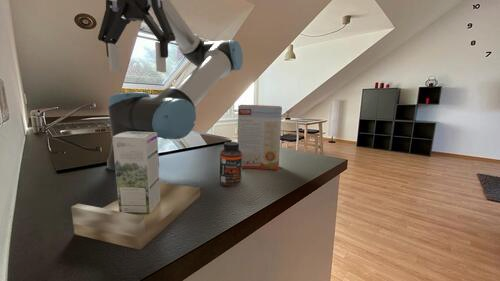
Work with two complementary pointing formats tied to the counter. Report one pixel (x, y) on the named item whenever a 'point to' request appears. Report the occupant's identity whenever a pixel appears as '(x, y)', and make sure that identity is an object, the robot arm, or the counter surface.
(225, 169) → the supplement bottle
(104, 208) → the shelf board
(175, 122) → the robot arm
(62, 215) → the counter surface
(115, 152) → the syrup box
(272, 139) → the cracker box
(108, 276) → the counter surface
